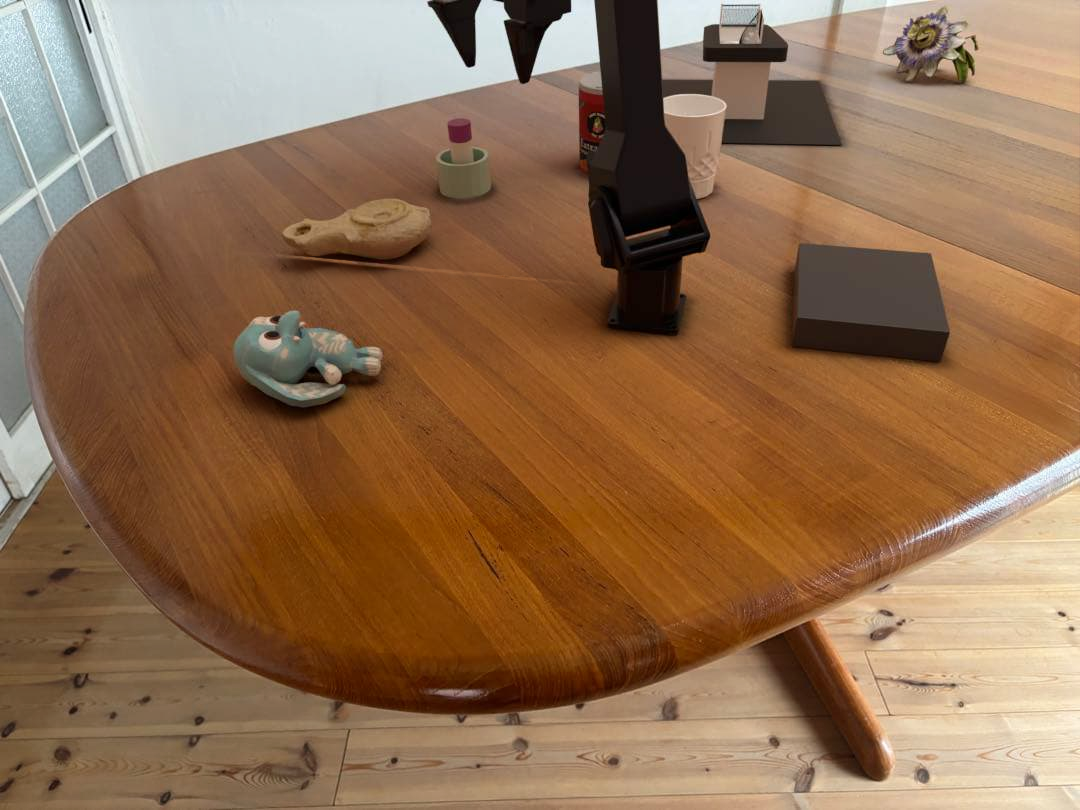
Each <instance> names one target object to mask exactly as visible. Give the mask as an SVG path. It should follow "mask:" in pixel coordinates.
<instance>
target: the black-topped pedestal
mask: <svg viewBox="0 0 1080 810" xmlns="http://www.w3.org/2000/svg"><path fill="white" fill-rule="evenodd" d="M788 52H789V43H788V42H787V41H786V40H785V39H784V38H783V37H782V36H781V35H780V34H779V33H778V32H777V31H775V29H774V28H772V26H771V25H768V24H765V17H764V15H763V8H761V3H758V4H724V3H720V14H719V23H714V24H713V23H712V24H708V25H706V26H704V27H703V37H702V61H703V62H706V63H714V65H713V73H712V74H713V75H712V79H662V85H663V98H665V97H668V96H673V95H680V94H700V95H708V96H712V97H716V98H718V99H721V100H722V101H724V102H725V103H726V106H727V107H726V113H725V121H724V127H723V134H722V142H721V144H768V145H769V144H770V145H771V144H774V145H824V146H826V145H828V146H830V145H831V146H833V145H834V146H842V145H843V144H842V140H841V137H840V135H839V132H838V130H837V127H836V123H835V121H834V118H833V115H832V113H831V110H830V107H829V104H828V101H827V99H826V96H825V93H824V91H823V87H822V85H821V82H820V80H784V79H783V80H781V79H780V80H779V79H777V80H776V79H775V80H774V79H772V80H770V79H769V78H770V72H771V64H772V63H785V62H786V61H787V59H788Z"/></svg>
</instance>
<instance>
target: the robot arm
mask: <svg viewBox="0 0 1080 810" xmlns="http://www.w3.org/2000/svg"><path fill="white" fill-rule="evenodd" d="M493 1H495V2H499V3H503V9H504V11H505V13H506V14H507V16H508V19H504V20H503V25H504V29H505V30H504V31H505V34H506V37H507V41H508V45H509V50H510V53H511V58H512V62H513V65H514V69H515V72H516V76H517V78H518V81H519V83H520V85H525V84H529V82H530V81H531V77H532V73H533V72H534V71H533V70H534V67H535V64H536V60H537V58H538V57H537V56H538V53H539V49H540V47H541V44H542V41H543V40H544V39H543V38H544V36H545V34H546V32H547V30H548V29H549V28H550V26H551V25H552V24H553V23H554V22H558V21H561V20H562V18H563V15H566V14H570V13H572V0H493ZM593 1H594V12H595V13H594V14H595V24H596V26H595V27H596V35H597V47H598V60H599V67H600V68H599V69H600V70H599V71H601V82H602V93H603V104H604V115H605V133H604V135H603V137H602V140H601V142H600V144H599V146H598V148H597V149H592V150H589V151H588V154H587V158H586V166H587V171H588V173H587V178H588V194H587V195H588V203H587V205H588V211H589V217H590V224H591V230H592V237H593V243H594V247H595V251H596V254H597V255H598V256H599V257H600V266H601V267H603V268H604V269H611V270H616V272H617V277H616V281H617V282H616V296H615V299H614V300H613V304H612V306H611V308H610V312H609V315H608V318H607V322H606V323H607V327H609V328H613V329H614V328H615V329H624V330H633V331H643V332H651V333H661V334H670V335H676V334H678V333H679V332H680V329H681V324H682V320H683V317H684V312H685V309H686V308H685V307H686V303H687V298H688V297H687V295H686V294H684V293H681V287H682V286H681V285H682V271H683V262H684V261H683V259H684V258H685V257H688V256H692V255H696V254H702V253H705V252H706V249H707V247H708V245H709V242H710V239H711V232H710V230H709V227H708V225H707V222H706V219H705V216H704V213H703V212H702V209H701V207H700V203H699V201H698V199H697V198H696V196H695V193H694V191H693V188H692V186H691V183H690V180H689V176H688V169H687V162H686V156H685V153H684V152H683V150H682V149H681V147H680V146H679V145H678V143H677V142H676V140H675V139H674V137H673V136H672V134H671V133H670V131H669V130H668V128H667V127H666V125H665V119H664V102H663V85H662V80H663V73H662V72H663V70H662V68H663V67H662V54H661V38H660V37H661V36H660V20H659V19H660V17H659V1H658V0H593ZM481 2H482V0H428V1H427V2H426V3H427V7H429V8H431V9H432V10H433V12H434V14H435V15H436V17H437V19H438V20H439V22H440V23H441V25H442V26H443V28H444V30H445V31H446V33H447V35H448V37H449V38H450V41H451V42H452V43H453V46H454V47H455V49H456V52H457V53H458V55H459V57H460V58H461V60H462V62H463V63H464V65H465V67H466V68H468V69H470V68H473V67H475V66H476V63H477V62H476V61H477V36H476V35H477V33H476V32H477V31H476V30H477V27H476V13H477V11H478V9H479V6H480V5H481ZM666 227H670V228H666ZM663 228H665V229H663ZM658 229H662V230H658ZM655 230H657V231H655ZM651 231H654V232H651ZM647 232H650V233H647ZM644 233H646V234H644ZM640 234H642V235H640ZM636 235H637V236H636ZM631 236H632V237H631ZM633 236H635V237H633ZM629 237H631V238H629Z"/></svg>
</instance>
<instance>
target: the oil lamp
mask: <svg viewBox="0 0 1080 810" xmlns="http://www.w3.org/2000/svg"><path fill="white" fill-rule="evenodd" d="M432 227H433V226H432V217H431V213H430V209H429V208H427V207H424V206H417V205H414V204H411V203H408V202H407V201H405V200H403V199H398V198H382V199H381V198H380V199H374V200H370V201H367V202H365V203H362V204H360V205H359V206H357V207H356V208H349V209H347V210H346V211H344V212H343V213H342V214H341V215H339V216H337V217H335V218H332V219H327V220H314V219H311V218H307V217H305V218H303V220H302V221H300V222H296V223H293V224H291V225H289V226H288V227H286V228H285V229H283V230H282V231H281V237H282V239H283V241H284V242H285V243H286V245H288V246H289V247H291V248H293V249H295V250H297V251H300V252H302V253H305V254H306V255H308V256H312V257H321V256H325V255H330V254H344V255H345V254H346V255H352V256H358V257H363V258H370V259H375V260H390V259H395V258H399V257H403V256H405V255H407V254H408V253H410V252H411V251H412V249H413V248H414V247H415V248H416V246H418V245H419V244H421V243H422V242H423V241H425V240H426V239H427V238H428V237H429V235H430V233H431V231H432Z"/></svg>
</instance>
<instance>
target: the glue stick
mask: <svg viewBox="0 0 1080 810" xmlns="http://www.w3.org/2000/svg"><path fill="white" fill-rule="evenodd" d="M446 123H447V124H446V126H447V134H448V140H449V147H450V148H449V149H451V158H452V164H469V163H473V162H474V159H473V148H472V147H473V134H472V133H473V132H472V122H471V120H470V119H468V118H454V119H450V120H448V121H447V122H446Z"/></svg>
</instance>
